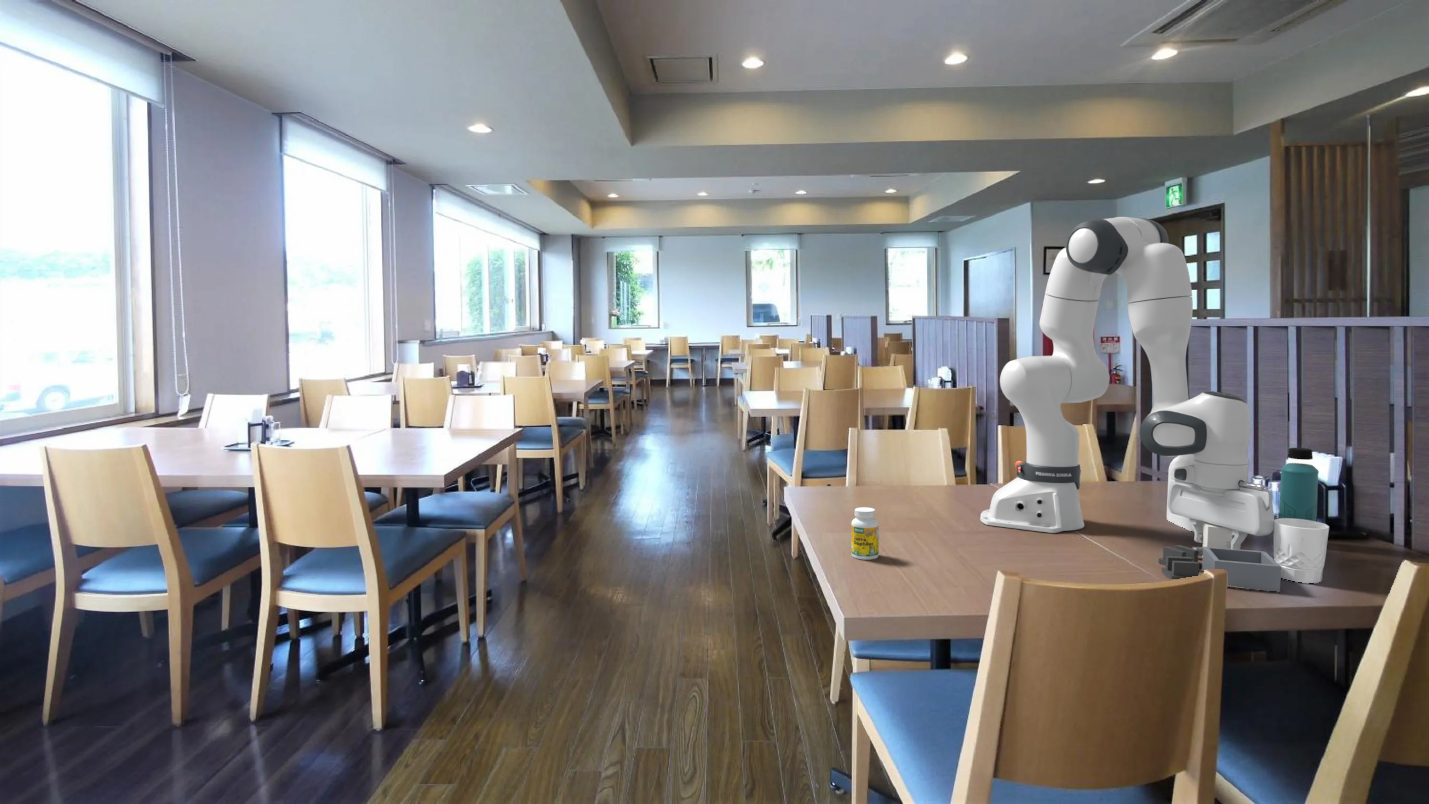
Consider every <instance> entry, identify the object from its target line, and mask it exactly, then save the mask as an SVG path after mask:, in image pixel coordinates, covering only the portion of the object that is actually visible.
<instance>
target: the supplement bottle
mask: <svg viewBox="0 0 1429 804" xmlns="http://www.w3.org/2000/svg"><path fill="white" fill-rule="evenodd" d="M854 516H855V518H853V520H851V524H850V525H851V526H850V528H851V529H850V530H851V535H850V536H851V539H850V541H851V542H850V544H851V557H853V558H854V559H857V560H861V561H862V560H864V561H870V560H871V561H872V560H876V559H877V558H878V557H879V555H880V554H879V553H880V551H879V549H880V547H879V546H880V545H879V544H880V542H879V541H880V540H879V536H880V535H879V534H880V533H879V532H880V529H879V527H880V526H879V524H880V523H879V521H878V519H876V518H875V517H876V509H875V508H872V507H865V506H863V507H856V508H855V509H854Z"/></svg>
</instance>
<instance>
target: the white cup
mask: <svg viewBox="0 0 1429 804" xmlns="http://www.w3.org/2000/svg"><path fill="white" fill-rule="evenodd" d="M1329 532H1330V526H1329V525H1328V524H1326V523H1323V522H1319V521H1317V522H1316V521H1310V520H1304V519H1293V518H1280V519H1279V518H1274V531H1273V532H1272V533H1273V537H1272V539H1273V540H1272V542H1273V545H1272V546H1273V559H1274V560H1275V561H1276V562H1277V563H1278V564H1279V565H1280V566H1281V578H1283V579H1282V580H1284V579H1287V580H1286V581H1288V580H1292V581H1295V582H1294V583H1298V582H1302V583H1301V584H1309V583H1314V584H1320V583H1321V582H1322V581H1323V572H1324V567H1325V562H1326V556H1327V545H1328V538H1329ZM1292 581H1291V582H1292ZM1319 582H1320V583H1319Z"/></svg>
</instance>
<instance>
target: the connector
mask: <svg viewBox="0 0 1429 804" xmlns="http://www.w3.org/2000/svg"><path fill="white" fill-rule="evenodd" d="M1232 539H1233V535H1232V529H1229V528H1225V527H1222V526H1218V525H1214V524H1210V523H1207V522H1204V528H1203V543H1202V547H1201V546H1192V547H1191V548H1192V549H1195V550H1198V557H1199V556H1201V557H1202V558H1203V547H1215V548H1226V547H1227V546H1226V542H1231V541H1232Z"/></svg>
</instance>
